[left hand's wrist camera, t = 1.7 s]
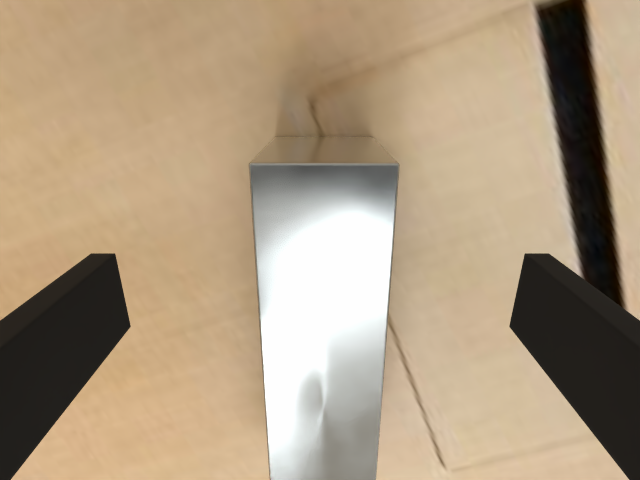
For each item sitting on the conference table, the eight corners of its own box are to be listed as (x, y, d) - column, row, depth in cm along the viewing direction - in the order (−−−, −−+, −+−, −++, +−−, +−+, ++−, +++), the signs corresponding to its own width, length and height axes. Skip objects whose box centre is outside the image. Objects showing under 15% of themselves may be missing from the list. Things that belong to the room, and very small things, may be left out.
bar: (274, 136, 23) (248, 162, 15) (372, 136, 23) (400, 163, 15) (286, 441, 32) (274, 560, 24) (358, 441, 32) (370, 561, 24)
